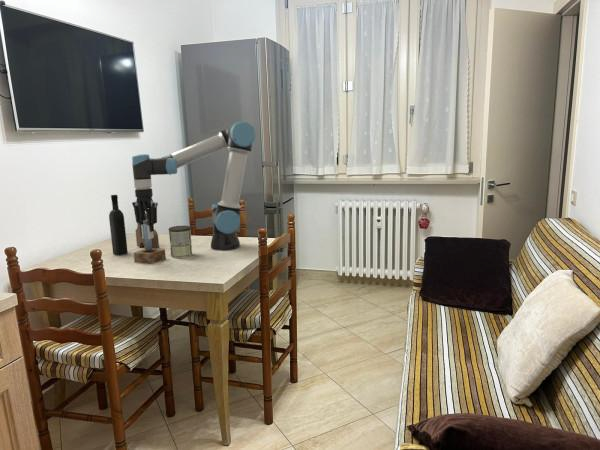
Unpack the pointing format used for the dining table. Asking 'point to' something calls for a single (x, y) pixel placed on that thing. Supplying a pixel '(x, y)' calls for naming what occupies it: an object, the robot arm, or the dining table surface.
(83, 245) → the dining table surface
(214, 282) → the dining table surface
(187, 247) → the glass jar
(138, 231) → the wooden toy
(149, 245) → the grey rod
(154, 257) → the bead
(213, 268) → the dining table surface
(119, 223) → the wine bottle
